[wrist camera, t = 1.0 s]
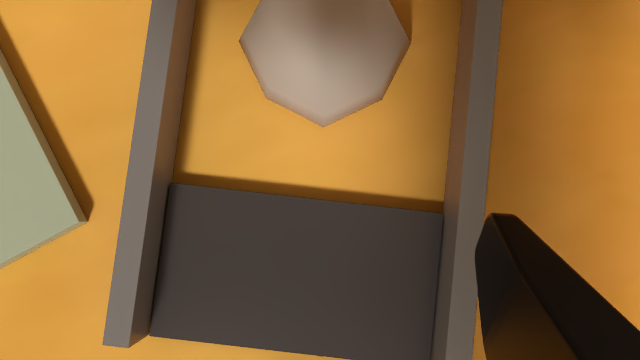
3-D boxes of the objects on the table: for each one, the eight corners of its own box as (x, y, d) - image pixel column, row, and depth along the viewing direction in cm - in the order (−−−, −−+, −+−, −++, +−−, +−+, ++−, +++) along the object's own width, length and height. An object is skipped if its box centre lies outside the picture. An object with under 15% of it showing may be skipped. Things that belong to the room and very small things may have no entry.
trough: (452, 367, 21) (469, 387, 19) (128, 330, 21) (102, 345, 19) (486, -14, 22) (506, -43, 20) (181, -47, 23) (163, -80, 20)
